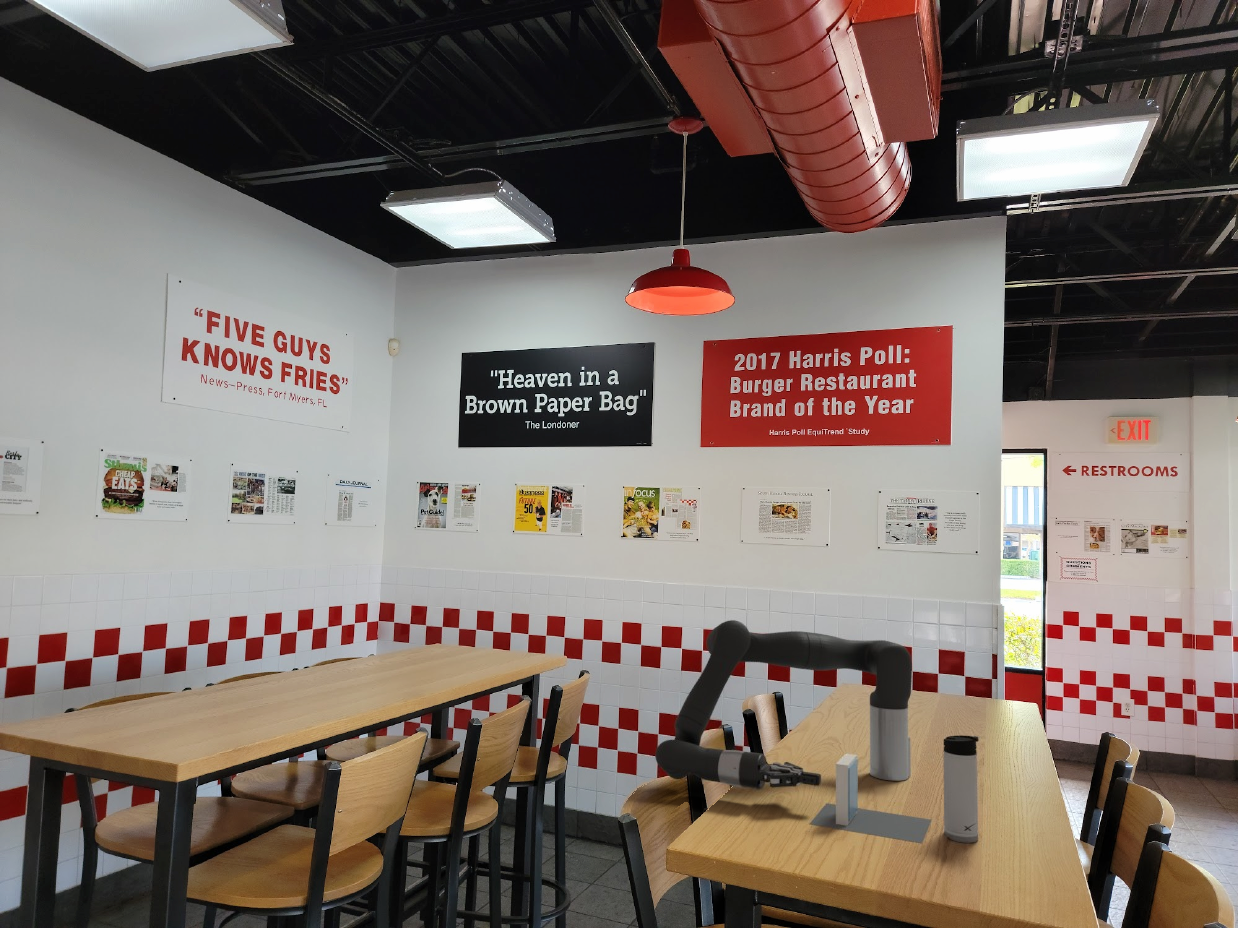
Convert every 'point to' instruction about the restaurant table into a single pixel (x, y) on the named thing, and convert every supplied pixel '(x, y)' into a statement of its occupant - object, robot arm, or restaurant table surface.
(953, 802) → the travel mug
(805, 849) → the restaurant table surface
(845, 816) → the tile
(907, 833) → the mat
